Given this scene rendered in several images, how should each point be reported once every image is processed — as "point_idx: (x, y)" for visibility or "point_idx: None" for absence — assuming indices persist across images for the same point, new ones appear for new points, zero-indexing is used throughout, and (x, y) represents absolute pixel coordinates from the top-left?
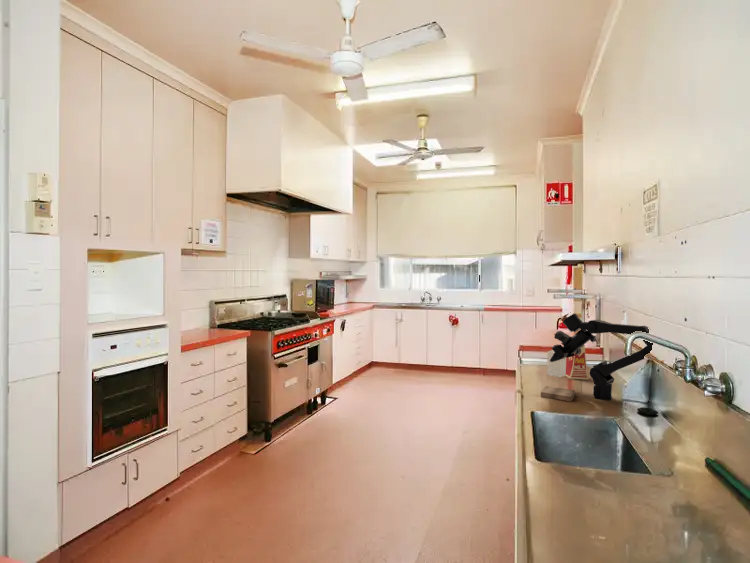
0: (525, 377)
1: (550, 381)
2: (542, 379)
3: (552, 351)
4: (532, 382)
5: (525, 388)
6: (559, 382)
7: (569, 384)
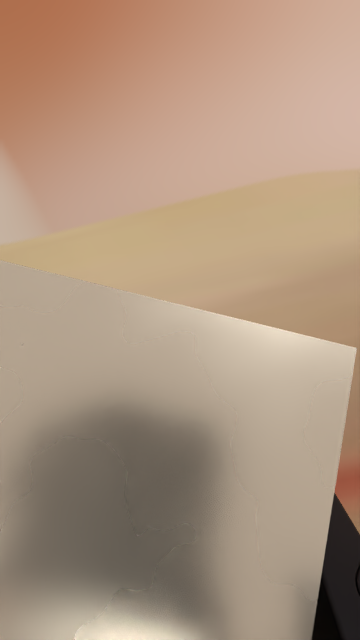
0: (327, 175)
1: (336, 340)
2: (355, 280)
3: (56, 371)
4: (216, 246)
5: (26, 249)
6: (354, 402)
7: (345, 481)
